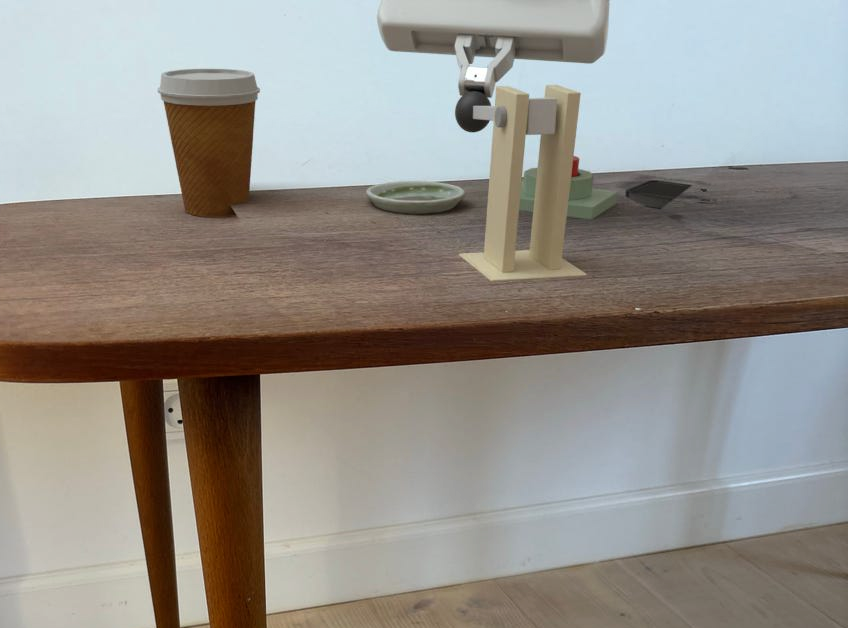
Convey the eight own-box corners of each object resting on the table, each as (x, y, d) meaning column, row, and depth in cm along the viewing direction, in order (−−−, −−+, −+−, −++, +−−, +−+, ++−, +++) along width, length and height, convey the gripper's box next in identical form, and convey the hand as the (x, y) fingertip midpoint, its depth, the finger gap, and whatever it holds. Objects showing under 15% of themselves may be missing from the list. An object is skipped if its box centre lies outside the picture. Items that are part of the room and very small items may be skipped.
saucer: (407, 200, 109) (408, 175, 108) (483, 215, 104) (485, 189, 103) (345, 216, 103) (345, 189, 102) (422, 232, 98) (423, 205, 97)
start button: (582, 175, 103) (584, 156, 102) (570, 182, 100) (572, 162, 99) (547, 171, 104) (549, 152, 103) (534, 178, 102) (536, 158, 101)
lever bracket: (458, 268, 88) (469, 83, 80) (547, 263, 90) (566, 81, 82) (490, 295, 82) (506, 97, 74) (585, 289, 83) (610, 95, 76)
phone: (767, 211, 102) (622, 190, 109) (764, 224, 102) (620, 202, 109) (791, 197, 107) (651, 178, 114) (788, 209, 108) (650, 189, 115)
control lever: (449, 132, 93) (450, 91, 91) (483, 131, 94) (485, 90, 92) (521, 141, 78) (523, 92, 77) (560, 139, 79) (564, 91, 77)
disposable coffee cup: (282, 206, 106) (278, 72, 100) (229, 225, 99) (221, 82, 92) (204, 195, 110) (195, 65, 103) (148, 213, 103) (134, 75, 96)
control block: (615, 214, 105) (621, 171, 103) (590, 231, 99) (596, 186, 97) (521, 203, 109) (525, 161, 107) (492, 218, 103) (495, 174, 101)
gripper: (390, -81, 92) (353, 58, 91) (625, -74, 87) (590, 74, 85) (403, -24, 99) (368, 108, 97) (623, -14, 93) (591, 125, 92)
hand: (474, 92), depth 91 cm, fingers closed, pressing on control lever
